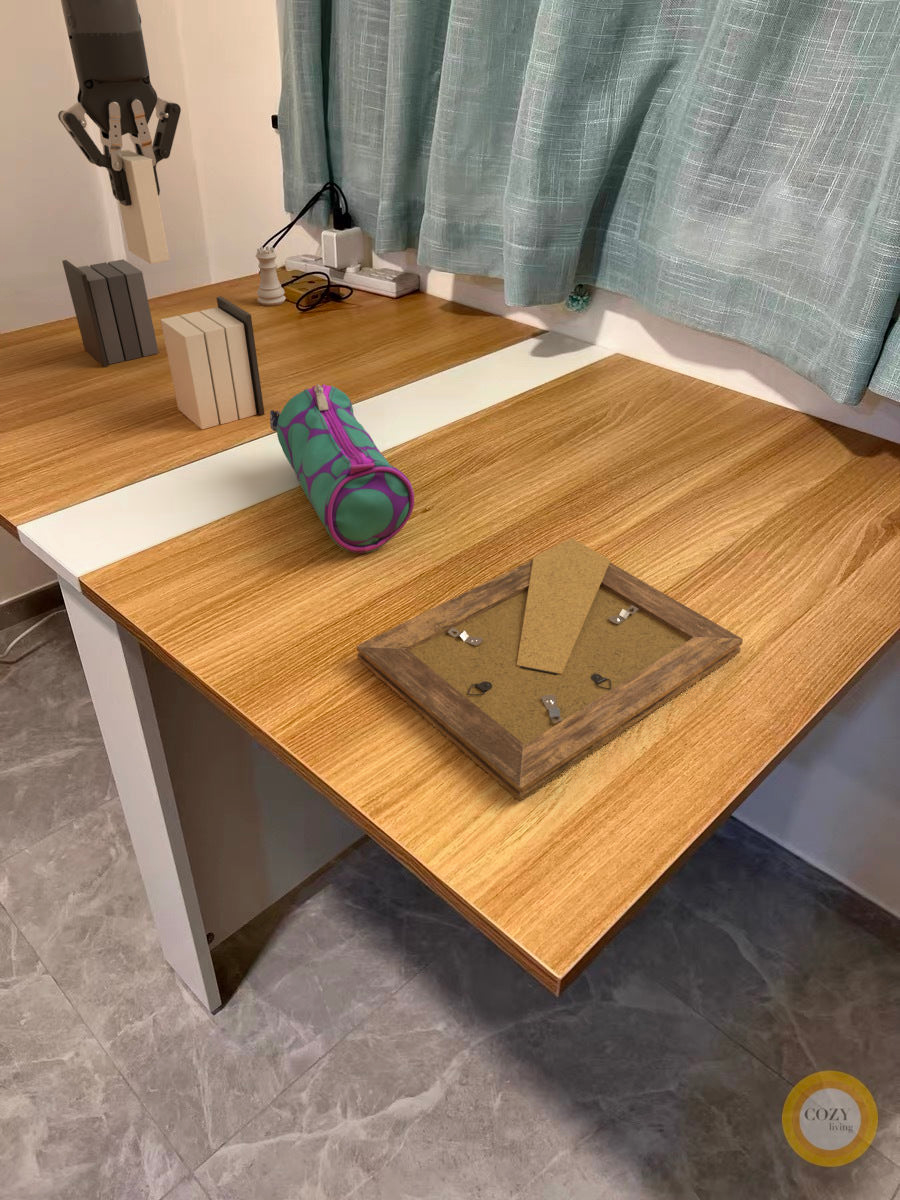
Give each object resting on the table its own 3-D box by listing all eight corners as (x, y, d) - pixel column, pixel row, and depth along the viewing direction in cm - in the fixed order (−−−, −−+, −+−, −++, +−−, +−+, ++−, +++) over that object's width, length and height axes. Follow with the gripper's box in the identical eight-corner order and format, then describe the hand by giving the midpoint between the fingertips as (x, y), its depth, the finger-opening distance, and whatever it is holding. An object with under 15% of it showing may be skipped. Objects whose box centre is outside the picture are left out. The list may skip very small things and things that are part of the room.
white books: (203, 431, 102) (184, 329, 95) (176, 408, 107) (156, 309, 100) (264, 414, 106) (251, 314, 99) (235, 392, 111) (220, 296, 104)
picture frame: (570, 553, 81) (357, 660, 69) (571, 537, 80) (355, 643, 68) (739, 654, 70) (520, 803, 58) (744, 636, 69) (521, 785, 57)
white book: (150, 264, 104) (130, 161, 98) (128, 250, 109) (108, 152, 102) (170, 260, 106) (151, 159, 99) (147, 247, 110) (128, 149, 104)
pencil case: (275, 467, 95) (264, 382, 89) (354, 452, 98) (348, 369, 92) (329, 569, 80) (319, 474, 74) (421, 548, 82) (419, 455, 76)
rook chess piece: (252, 305, 138) (245, 252, 133) (264, 296, 141) (257, 244, 137) (279, 307, 137) (273, 253, 132) (290, 298, 140) (284, 245, 136)
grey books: (103, 367, 118) (81, 275, 111) (84, 349, 123) (61, 260, 116) (160, 354, 121) (142, 264, 114) (139, 337, 127) (120, 250, 119)
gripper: (153, 22, 99) (181, 189, 109) (25, 27, 92) (68, 205, 103) (181, 26, 94) (207, 200, 105) (48, 32, 88) (90, 217, 98)
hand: (138, 201), depth 104 cm, fingers closed on white book, 2 cm apart
